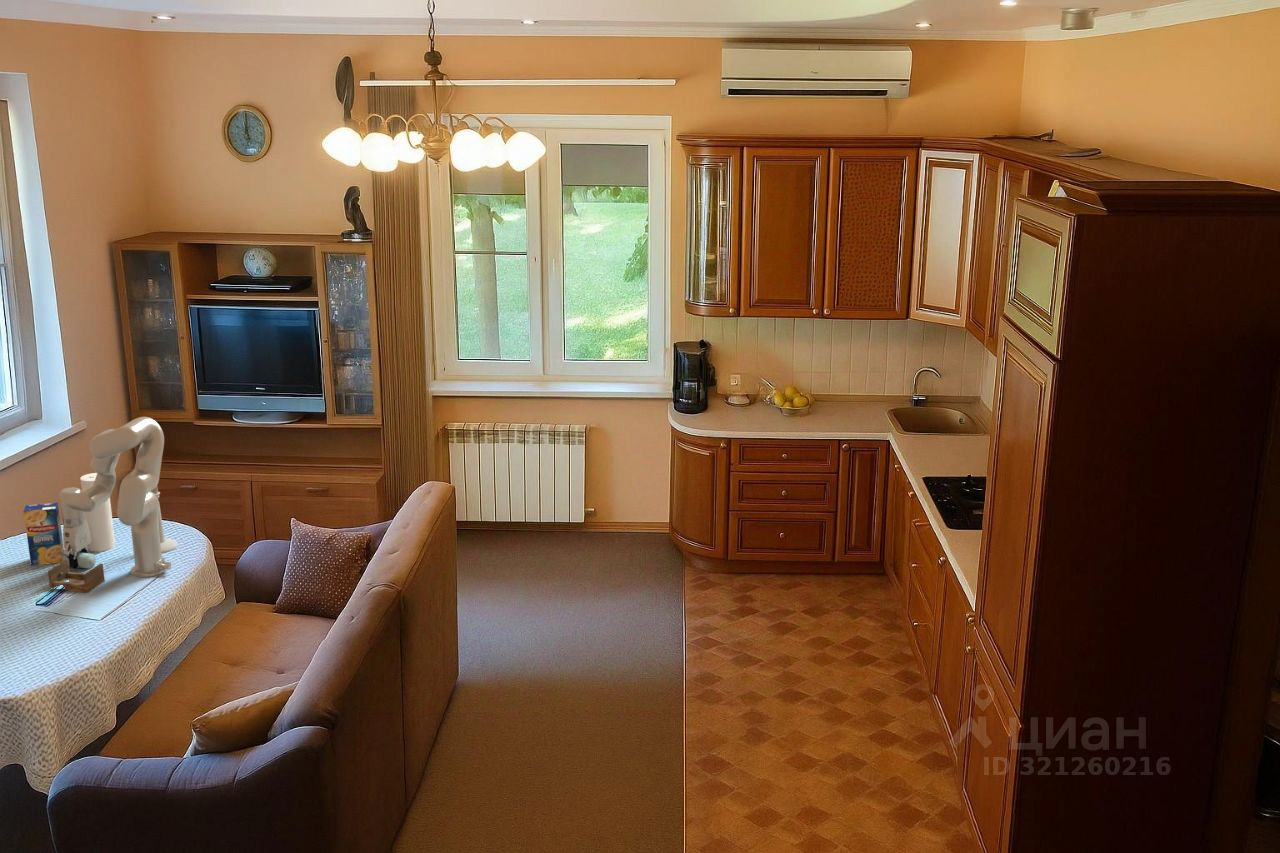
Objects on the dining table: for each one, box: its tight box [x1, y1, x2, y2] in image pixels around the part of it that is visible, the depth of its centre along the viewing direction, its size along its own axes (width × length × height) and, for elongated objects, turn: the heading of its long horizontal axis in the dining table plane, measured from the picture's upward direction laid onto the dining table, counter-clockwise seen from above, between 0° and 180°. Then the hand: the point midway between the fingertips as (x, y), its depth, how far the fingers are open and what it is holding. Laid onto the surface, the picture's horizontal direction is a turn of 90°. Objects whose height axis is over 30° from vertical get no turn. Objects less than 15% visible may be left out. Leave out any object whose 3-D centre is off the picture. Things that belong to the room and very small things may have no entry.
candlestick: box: [151, 485, 179, 554], centre depth 439 cm, size 13×13×30 cm
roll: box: [62, 551, 97, 570], centre depth 423 cm, size 10×6×6 cm, turn 81°
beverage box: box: [23, 501, 64, 566], centre depth 425 cm, size 7×11×22 cm, turn 111°
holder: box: [47, 560, 106, 594], centre depth 408 cm, size 15×10×7 cm, turn 81°
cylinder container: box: [79, 472, 116, 553], centre depth 437 cm, size 9×9×30 cm
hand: (79, 564), depth 424 cm, fingers closed on roll, 5 cm apart
